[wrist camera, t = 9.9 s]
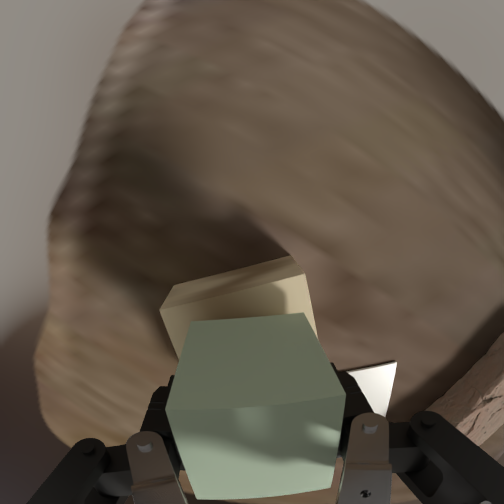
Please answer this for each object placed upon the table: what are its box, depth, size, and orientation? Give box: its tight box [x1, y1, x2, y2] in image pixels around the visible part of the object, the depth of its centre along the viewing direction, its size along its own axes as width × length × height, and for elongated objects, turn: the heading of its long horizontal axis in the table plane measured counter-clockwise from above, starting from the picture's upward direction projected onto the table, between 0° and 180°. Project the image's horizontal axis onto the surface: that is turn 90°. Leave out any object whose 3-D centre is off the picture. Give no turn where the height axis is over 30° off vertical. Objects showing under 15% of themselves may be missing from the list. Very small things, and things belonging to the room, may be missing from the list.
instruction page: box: [345, 361, 397, 417], centre depth 20 cm, size 9×9×1 cm
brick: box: [425, 332, 504, 446], centre depth 20 cm, size 17×8×5 cm, turn 131°
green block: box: [165, 312, 346, 499], centre depth 11 cm, size 5×5×6 cm
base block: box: [159, 255, 318, 359], centre depth 17 cm, size 7×7×4 cm
